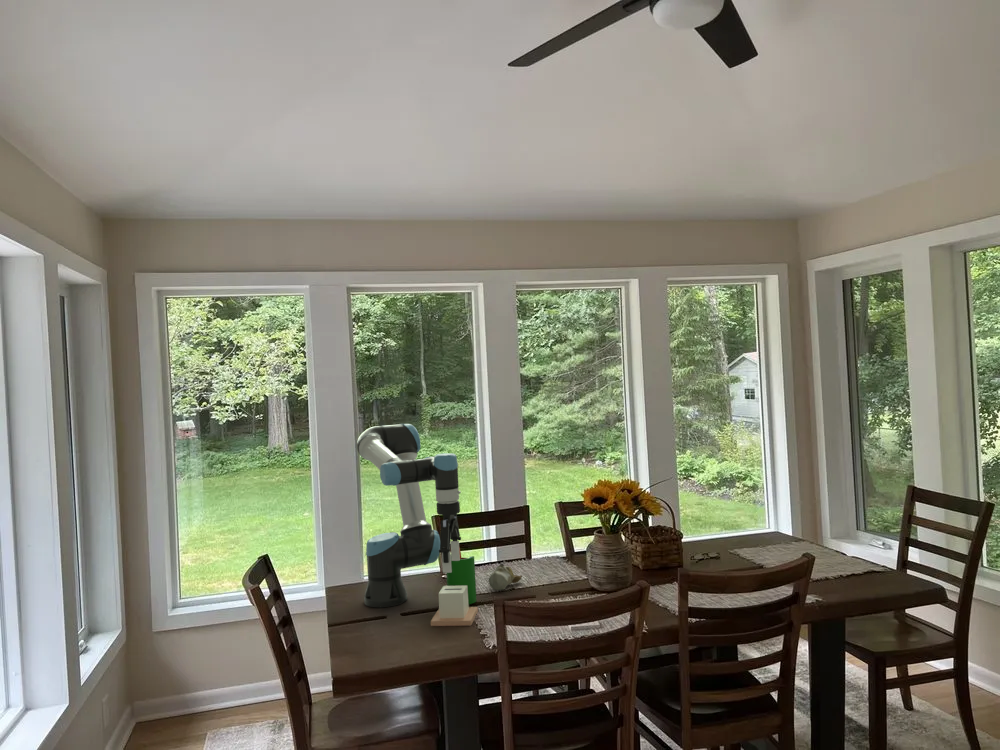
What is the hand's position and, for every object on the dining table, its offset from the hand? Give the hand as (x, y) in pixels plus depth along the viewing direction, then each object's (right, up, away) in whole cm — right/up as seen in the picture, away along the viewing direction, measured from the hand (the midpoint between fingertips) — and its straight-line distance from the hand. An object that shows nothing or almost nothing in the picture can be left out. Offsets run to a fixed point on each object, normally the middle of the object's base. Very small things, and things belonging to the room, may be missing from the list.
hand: (451, 566), depth 233 cm
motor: (+2, -17, +17) cm, 24 cm away
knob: (+1, -15, 0) cm, 16 cm away
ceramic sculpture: (+17, -16, +32) cm, 40 cm away
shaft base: (+1, -17, 0) cm, 17 cm away
